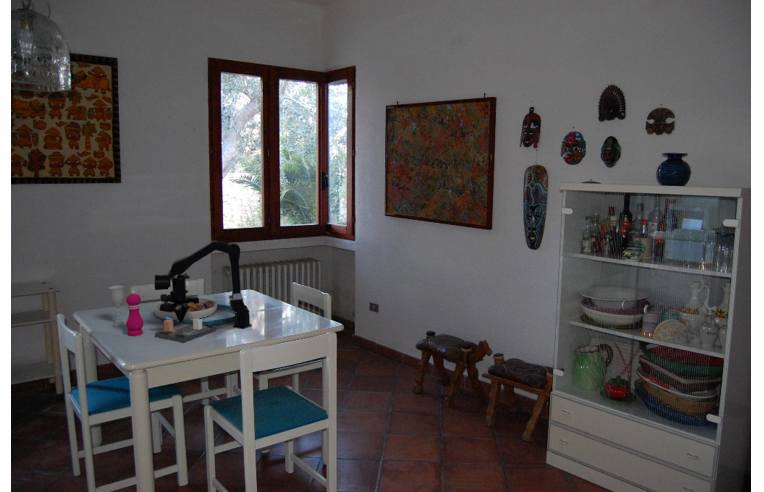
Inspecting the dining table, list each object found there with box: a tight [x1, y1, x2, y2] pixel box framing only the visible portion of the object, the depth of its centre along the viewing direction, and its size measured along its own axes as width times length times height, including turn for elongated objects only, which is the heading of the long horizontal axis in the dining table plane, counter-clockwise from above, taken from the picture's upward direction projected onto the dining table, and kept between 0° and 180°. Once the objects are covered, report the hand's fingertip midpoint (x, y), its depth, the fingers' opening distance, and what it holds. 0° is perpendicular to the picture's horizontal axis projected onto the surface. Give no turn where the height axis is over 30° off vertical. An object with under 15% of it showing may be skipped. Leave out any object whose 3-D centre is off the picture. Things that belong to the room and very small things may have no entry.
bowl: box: [153, 297, 218, 321], centre depth 295 cm, size 30×30×8 cm
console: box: [154, 320, 217, 344], centre depth 262 cm, size 17×20×3 cm
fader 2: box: [192, 318, 203, 330], centre depth 261 cm, size 3×2×4 cm
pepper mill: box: [125, 290, 145, 337], centre depth 260 cm, size 7×7×20 cm
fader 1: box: [163, 319, 174, 331], centre depth 258 cm, size 3×2×4 cm
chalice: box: [108, 285, 125, 327], centre depth 274 cm, size 7×7×18 cm
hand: (180, 322), depth 265 cm, fingers closed
